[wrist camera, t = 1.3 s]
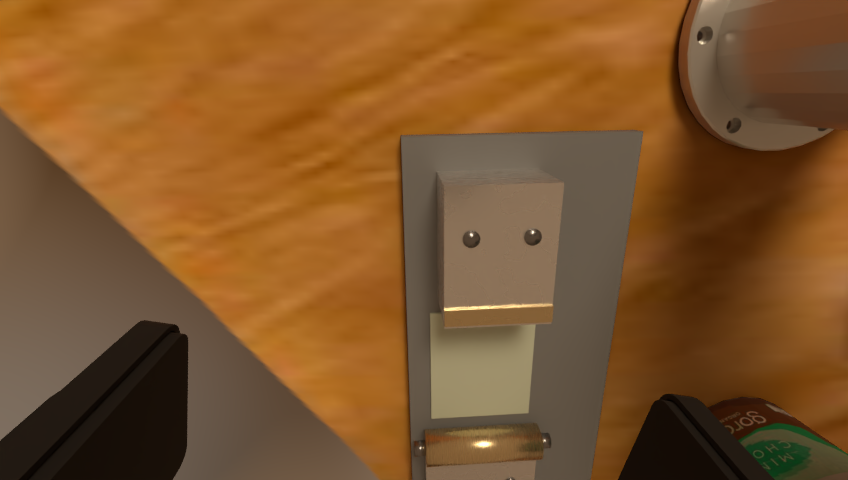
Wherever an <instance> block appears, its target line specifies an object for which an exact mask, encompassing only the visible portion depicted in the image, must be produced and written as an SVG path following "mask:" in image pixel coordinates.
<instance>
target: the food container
mask: <svg viewBox="0 0 848 480" xmlns="http://www.w3.org/2000/svg"><path fill="white" fill-rule="evenodd" d="M708 409H709V410H710V411H711V412H712V414H713V415H714V416H715V417H716V418H717V419H718V420H719V421H720V422H721V423H722V424H723V425H724V426H725V427H726V428H727V429H728V431H729V432H730V433H731V434H732V435H733V436H734V437H735V438H736V439H737V440H738V441H739V442H740V443H741V444H742V445H743V446H744V447H745V449H746V450H747V451H748V452H749V453H750V454H751V455H752V456H753V457H754V458H755V459H756V460H757V461H758V462H759V463H760V464H761V466H762V467H763V468H764V469H765V470H766V471H767V472H768V473H769V474H770V475H771V476H772V477H773V478H774V479H775V480H848V454H847V453H845V452H844V451H842V450H841V449H839V448H838V447H836V446H835V445H834V444H832V443H831V442H829V441H828V440H826V439H825V438H823V437H822V436H820V435H819V434H817V433H816V432H815V431H813V430H812V429H810V428H809V427H807V426H806V425H804V424H803V423H801V422H800V421H798V420H797V419H795V418H794V417H793V416H791V415H790V414H788V413H787V412H785V411H784V410H782V409H781V408H779V407H778V406H776V405H775V404H773V403H770V402H768V401H765V400H763V399H760V398H748V397H740V398H735V399H730V400H725V401H722V402H720V403H717V404H715V405H713V406H711V407H709V408H708Z"/></svg>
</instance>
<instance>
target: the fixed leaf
mask: <svg viewBox="0 0 848 480" xmlns="http://www.w3.org/2000/svg"><path fill="white" fill-rule="evenodd" d="M544 448H551V437H550V435H549V433H541V431H540V428H539V426H538V424H537V423H521V424H505V425H488V426H471V427H454V428H438V429H425V440H419V441H414V454H415V457H418V456H425V479H426V480H534V478H535V467H536V460H542V459H543V454H544Z"/></svg>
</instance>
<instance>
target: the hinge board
mask: <svg viewBox="0 0 848 480" xmlns="http://www.w3.org/2000/svg"><path fill="white" fill-rule="evenodd" d="M642 137H643V131H637V130H612V131H568V132H523V133H478V134H434V135H401V156H402V186H403V216H404V246H405V276H406V306H407V336H408V366H409V396H410V426H411V456H412V480H426V479H425V456H418V457H415V454H414V441H419V440H425V429H438V428H454V427H471V426H488V425H505V424H521V423H537V424H538V426H539V428H540V431H541V433H549V435H550V437H551V448H544V454H543V459H542V460H536V467H535V478H534V480H591V473H592V467H593V460H594V453H595V447H596V440H597V434H598V427H599V421H600V414H601V407H602V401H603V394H604V388H605V381H606V374H607V368H608V361H609V355H610V348H611V341H612V335H613V328H614V322H615V315H616V308H617V302H618V295H619V289H620V282H621V276H622V269H623V262H624V256H625V249H626V243H627V236H628V229H629V223H630V216H631V210H632V203H633V196H634V190H635V183H636V177H637V170H638V163H639V157H640V150H641V144H642ZM513 169H540V170H542V171H544V172H546V173H547V174H549V175H551V176H553V177H555V178H557V179H559V180H560V181H562V182H564V191H563V202H562V212H561V223H560V233H559V244H558V254H557V265H556V275H555V286H554V296H553V306H554V308H553V319H552V322H551V324H536V325H515V326H494V327H473V328H451V329H444V325H443V320H442V316H441V311H440V306H439V301H438V294H437V172H439V171H476V170H513Z"/></svg>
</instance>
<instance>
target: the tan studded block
mask: <svg viewBox="0 0 848 480" xmlns="http://www.w3.org/2000/svg"><path fill="white" fill-rule="evenodd" d="M563 191H564V182H562V181H560V180H559V179H557V178H555V177H553V176H551V175H549V174H547V173H546V172H544V171H542V170H540V169H513V170H476V171H439V172H437V294H438V301H439V306H440V311H441V316H442V320H443V325H444V329H451V328H473V327H494V326H515V325H536V324H551V322H552V319H553V308H554V306H553V296H554V286H555V275H556V265H557V254H558V244H559V233H560V223H561V212H562V202H563Z"/></svg>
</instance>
